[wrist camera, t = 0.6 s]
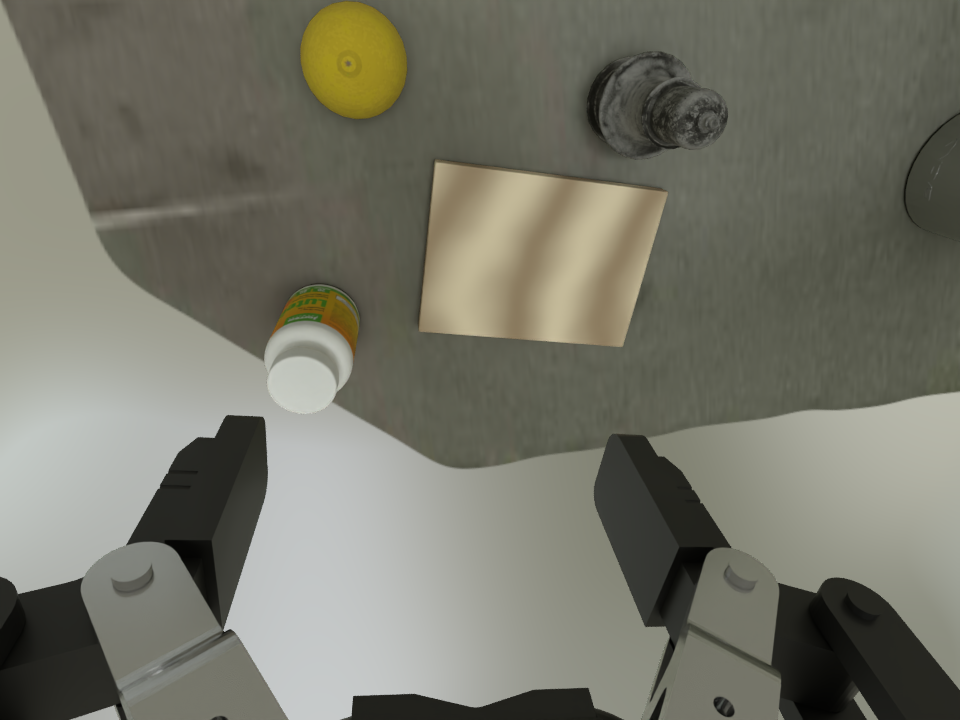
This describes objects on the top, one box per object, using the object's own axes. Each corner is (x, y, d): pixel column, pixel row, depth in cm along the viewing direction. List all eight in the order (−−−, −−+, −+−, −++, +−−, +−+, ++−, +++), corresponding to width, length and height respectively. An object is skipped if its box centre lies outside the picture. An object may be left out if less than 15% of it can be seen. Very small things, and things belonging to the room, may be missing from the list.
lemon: (415, 23, 33) (418, 16, 26) (396, 122, 35) (394, 140, 28) (318, -8, 31) (294, -24, 24) (306, 97, 34) (281, 109, 27)
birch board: (661, 188, 39) (668, 192, 38) (617, 340, 45) (622, 346, 44) (434, 159, 36) (435, 162, 35) (418, 324, 42) (418, 331, 41)
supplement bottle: (333, 269, 39) (314, 329, 31) (374, 329, 42) (366, 399, 33) (269, 303, 40) (232, 371, 31) (312, 360, 42) (290, 437, 34)
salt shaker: (592, 45, 34) (675, 43, 24) (681, 57, 35) (797, 60, 25) (574, 145, 37) (640, 183, 27) (656, 154, 38) (752, 194, 28)
